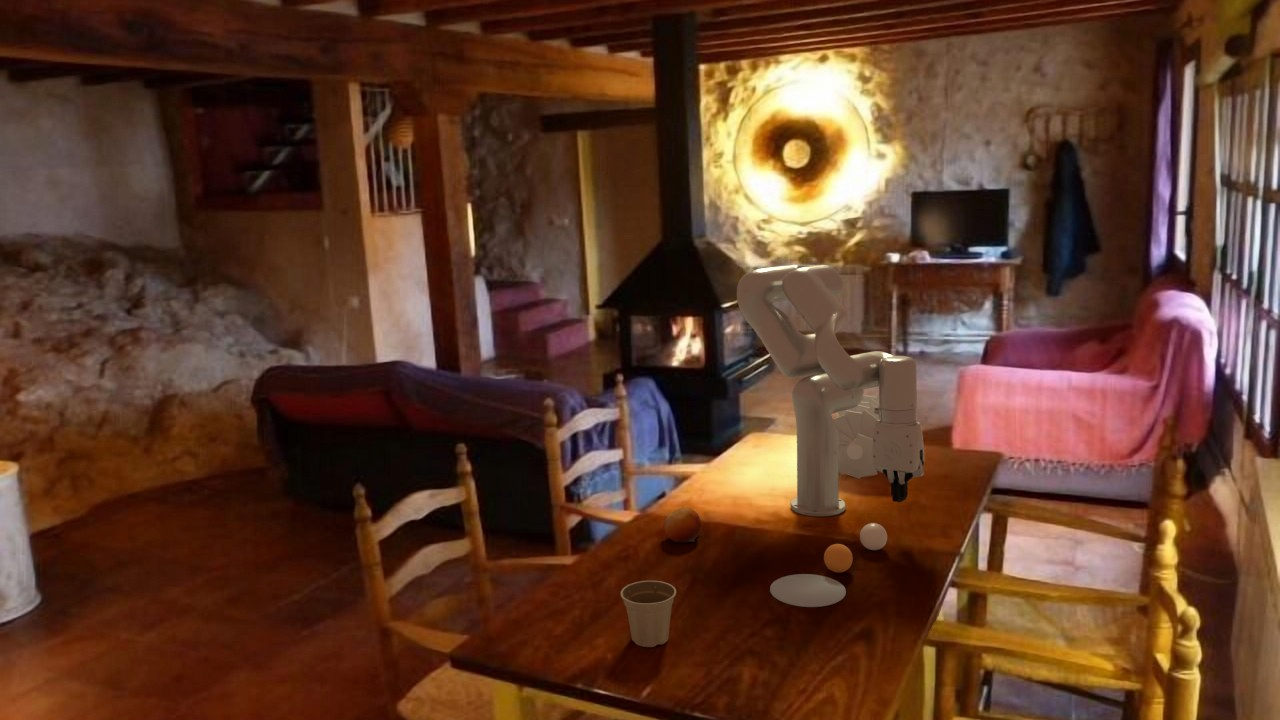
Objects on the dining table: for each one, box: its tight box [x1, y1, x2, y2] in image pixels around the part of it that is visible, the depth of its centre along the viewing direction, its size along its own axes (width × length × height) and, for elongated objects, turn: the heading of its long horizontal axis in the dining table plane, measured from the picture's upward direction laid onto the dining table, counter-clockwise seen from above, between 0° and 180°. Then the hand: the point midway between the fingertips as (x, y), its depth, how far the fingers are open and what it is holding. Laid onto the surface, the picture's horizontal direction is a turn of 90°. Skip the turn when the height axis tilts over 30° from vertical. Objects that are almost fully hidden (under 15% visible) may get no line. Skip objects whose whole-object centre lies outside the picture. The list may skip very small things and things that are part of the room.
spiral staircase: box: [832, 394, 880, 480], centre depth 249 cm, size 18×18×25 cm
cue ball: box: [859, 522, 888, 551], centre depth 196 cm, size 6×6×6 cm
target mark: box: [769, 573, 847, 608], centre depth 179 cm, size 14×14×1 cm
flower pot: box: [620, 580, 677, 648], centre depth 162 cm, size 9×9×9 cm
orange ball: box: [823, 543, 854, 573], centre depth 186 cm, size 6×6×6 cm
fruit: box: [663, 506, 702, 544], centre depth 206 cm, size 8×8×8 cm
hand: (899, 500), depth 201 cm, fingers closed
